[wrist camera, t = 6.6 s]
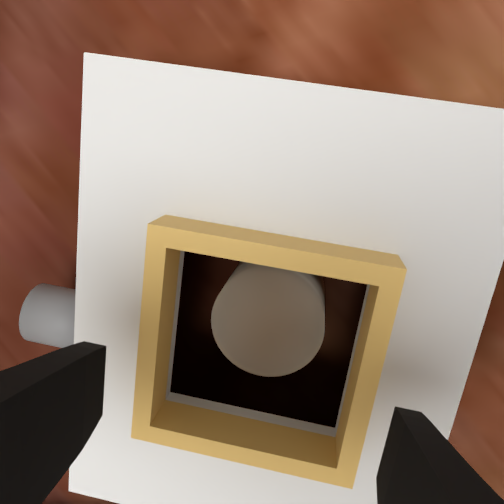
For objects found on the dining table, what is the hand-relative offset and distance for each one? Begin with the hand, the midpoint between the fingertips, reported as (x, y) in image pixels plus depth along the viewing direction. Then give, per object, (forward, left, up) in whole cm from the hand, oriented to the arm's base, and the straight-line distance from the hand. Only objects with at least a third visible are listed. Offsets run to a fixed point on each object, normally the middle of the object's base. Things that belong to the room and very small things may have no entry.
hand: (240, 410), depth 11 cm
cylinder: (0, 0, -9) cm, 9 cm away
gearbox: (+2, 0, -9) cm, 9 cm away
